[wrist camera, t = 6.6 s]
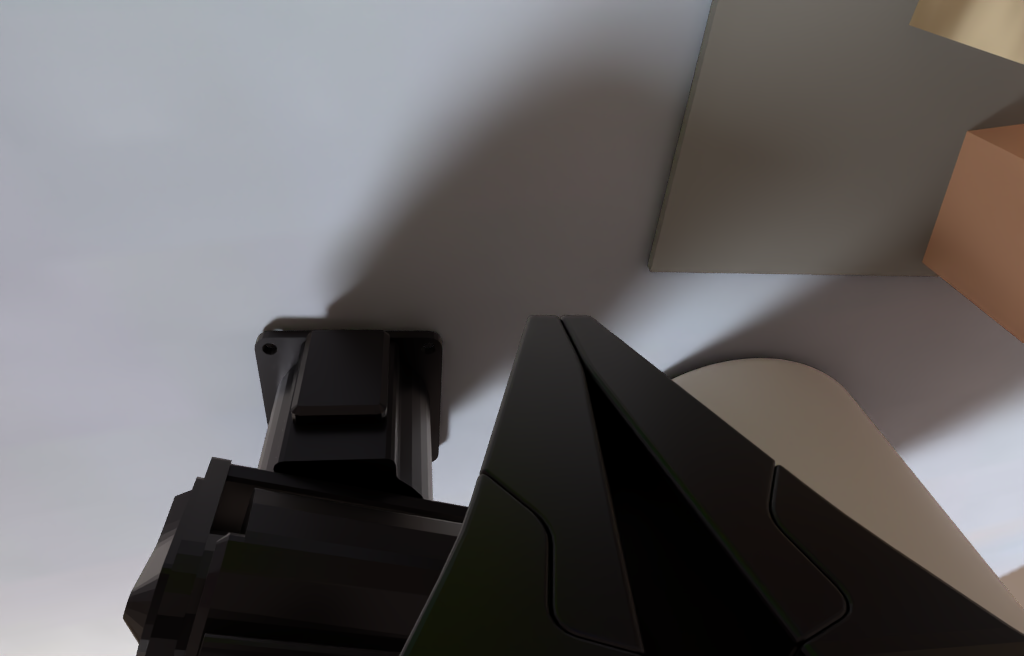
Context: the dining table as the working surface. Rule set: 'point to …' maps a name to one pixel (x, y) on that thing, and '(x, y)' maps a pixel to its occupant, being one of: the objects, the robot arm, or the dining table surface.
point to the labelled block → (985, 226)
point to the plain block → (976, 24)
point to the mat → (823, 139)
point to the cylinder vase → (846, 465)
